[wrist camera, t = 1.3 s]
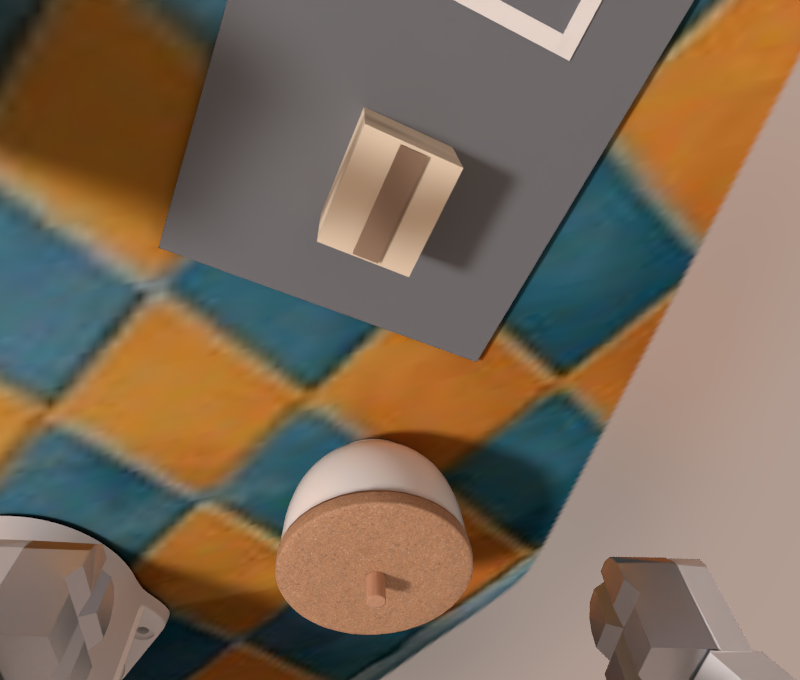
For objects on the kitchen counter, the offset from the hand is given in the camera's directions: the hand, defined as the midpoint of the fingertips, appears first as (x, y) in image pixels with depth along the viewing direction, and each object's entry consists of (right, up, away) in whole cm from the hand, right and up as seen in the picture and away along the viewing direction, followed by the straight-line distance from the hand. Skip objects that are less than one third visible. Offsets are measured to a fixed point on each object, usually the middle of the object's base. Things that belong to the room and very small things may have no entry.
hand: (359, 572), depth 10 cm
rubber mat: (+2, +16, +17) cm, 24 cm away
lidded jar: (-1, -5, +30) cm, 31 cm away
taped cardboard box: (0, +11, +20) cm, 23 cm away
